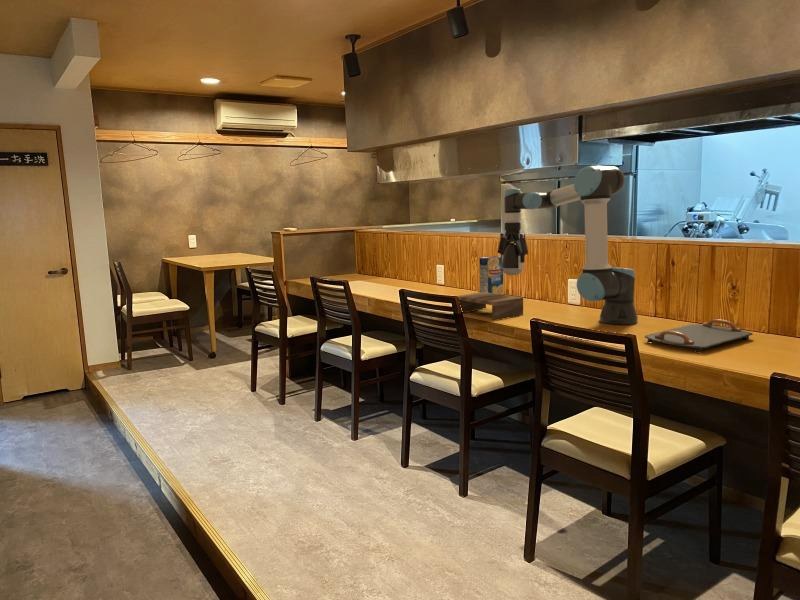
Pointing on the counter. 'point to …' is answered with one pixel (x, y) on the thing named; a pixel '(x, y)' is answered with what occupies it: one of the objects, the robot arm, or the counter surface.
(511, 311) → the walnut shelf
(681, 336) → the serving board
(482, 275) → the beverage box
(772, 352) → the counter surface
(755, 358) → the counter surface
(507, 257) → the black rounded dome
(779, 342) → the counter surface
